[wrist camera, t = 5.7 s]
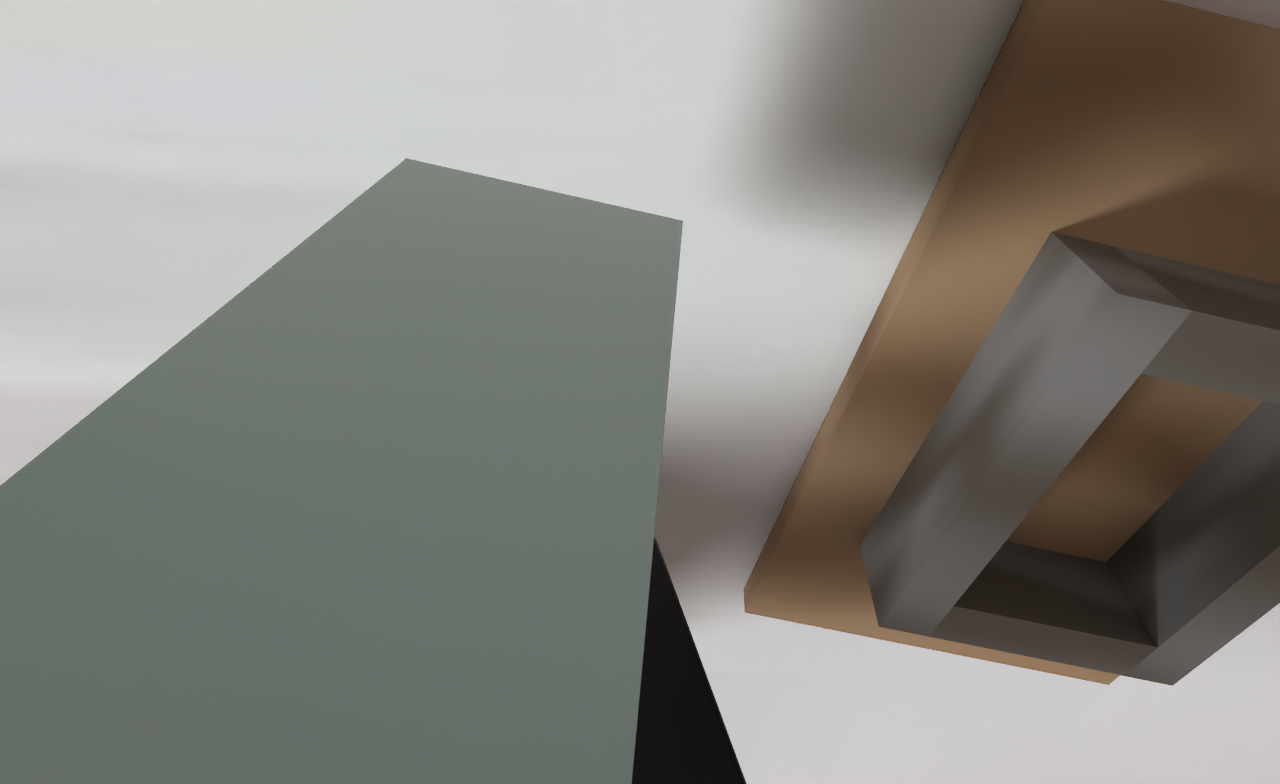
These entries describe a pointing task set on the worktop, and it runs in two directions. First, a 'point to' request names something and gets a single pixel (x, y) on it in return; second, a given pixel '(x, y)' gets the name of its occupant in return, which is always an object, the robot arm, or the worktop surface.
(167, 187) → the worktop surface
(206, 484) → the block
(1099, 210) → the caddy
